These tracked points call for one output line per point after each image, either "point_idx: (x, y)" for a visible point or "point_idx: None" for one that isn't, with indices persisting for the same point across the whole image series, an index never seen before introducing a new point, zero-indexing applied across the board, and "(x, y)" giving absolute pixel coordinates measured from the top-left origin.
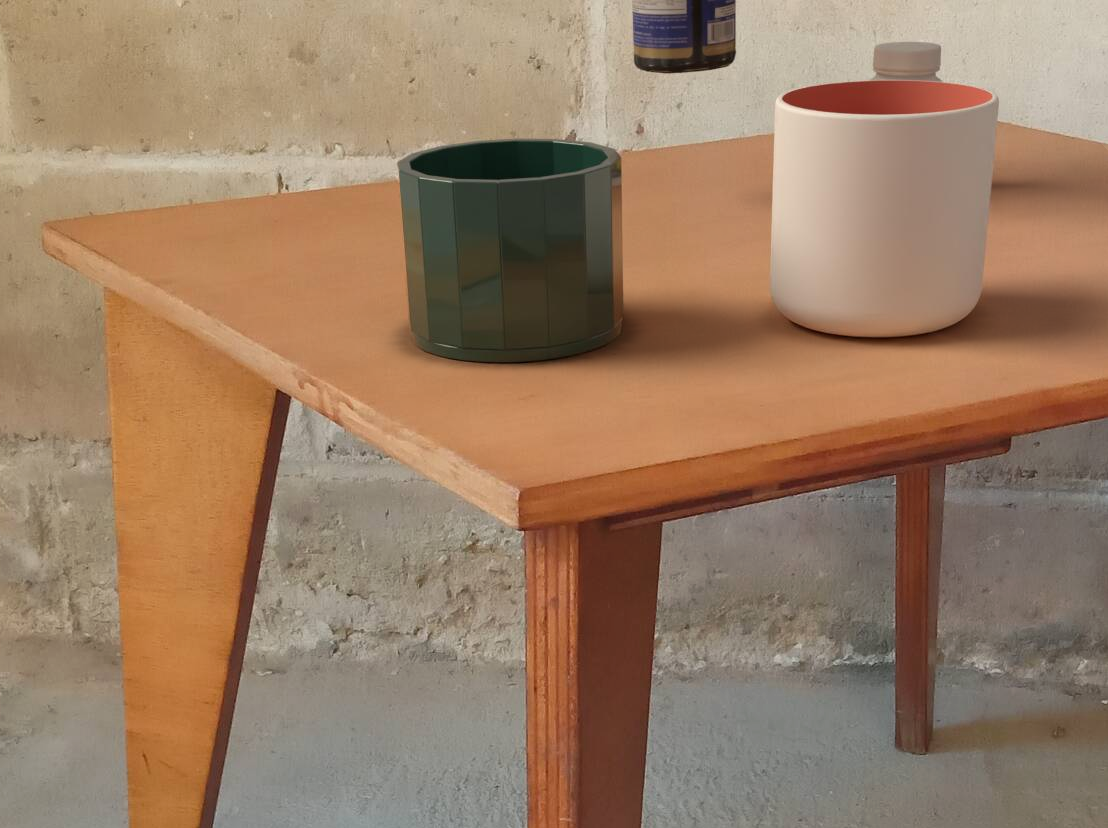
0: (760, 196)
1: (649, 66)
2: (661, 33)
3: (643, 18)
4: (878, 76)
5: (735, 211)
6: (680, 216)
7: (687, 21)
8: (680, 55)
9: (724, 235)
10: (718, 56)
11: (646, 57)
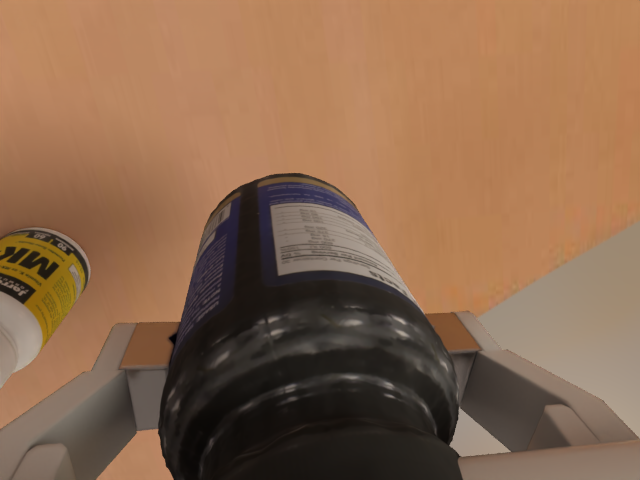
0: (196, 219)
1: (334, 186)
2: (319, 194)
3: (361, 222)
4: (3, 326)
5: (207, 142)
6: (267, 111)
7: (268, 201)
8: (279, 178)
9: (189, 2)
10: (216, 209)
11: (342, 194)
